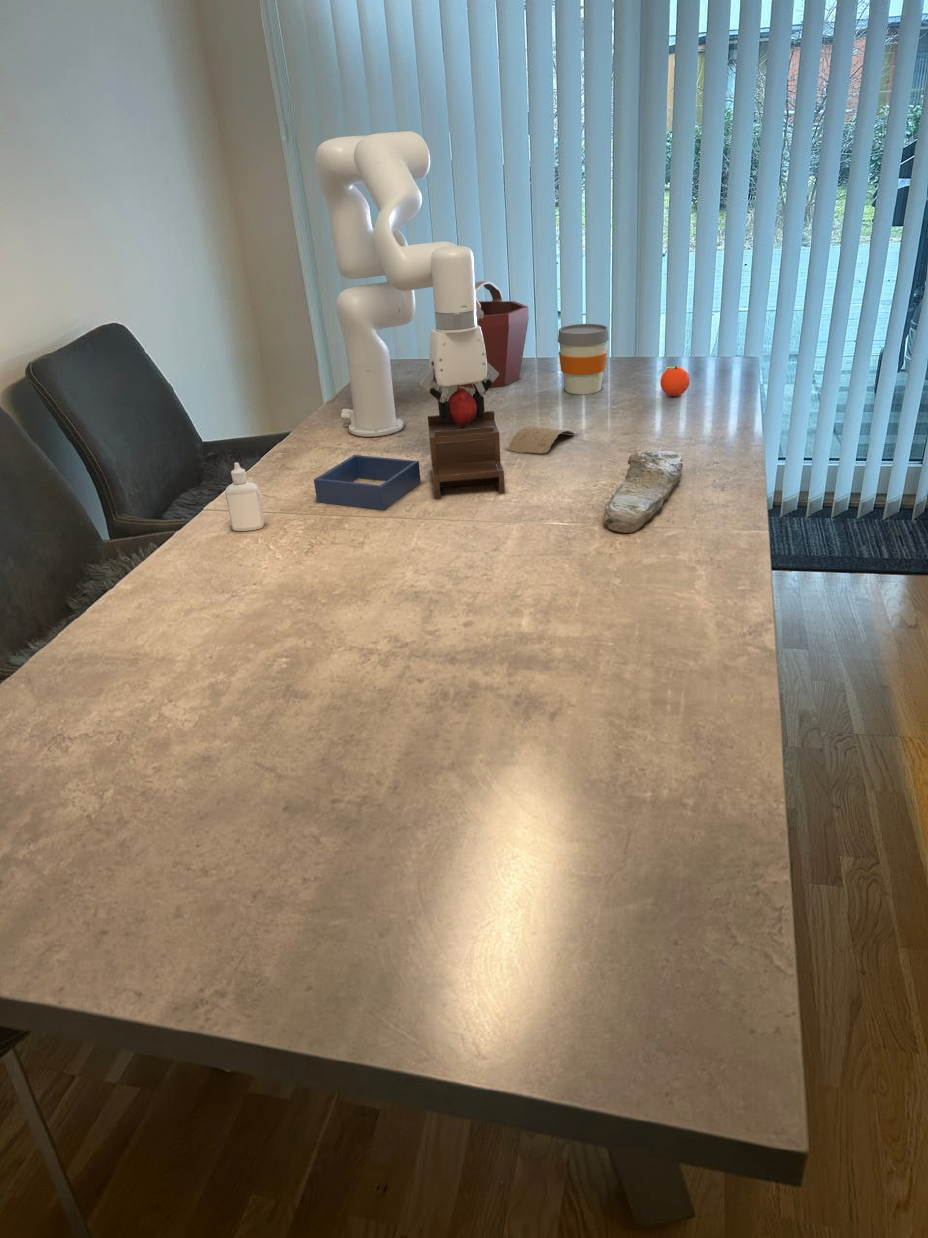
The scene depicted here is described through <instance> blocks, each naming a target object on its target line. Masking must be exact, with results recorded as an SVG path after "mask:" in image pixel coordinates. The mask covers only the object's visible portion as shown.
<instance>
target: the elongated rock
mask: <svg viewBox="0 0 928 1238" xmlns="http://www.w3.org/2000/svg"><path fill="white" fill-rule="evenodd" d="M627 464H628V465H629V468H628V469H627V471H626V475H625V477H624V478H625V479H624V481H623V482H622V483H621V484H620V486H619V487H617V488H616V491H615V492H614V493H613V494H611V497H610V498H609V500H608V501H607V503H605V506H604V513H603V516H602V517H603V518H602V524H605V525H606V526H607V528H608V529H609V530H611V531H614V532H617V533H625V534H627V533H628V534H631V533H634V532H636V531H637V530H639V529H640V528H642V527H643V526H644V524H645V523H647V522H648V521H649V520H650V519H651V518H652V517H653V516H654V515H656V513H657V512H658V511H660V510H661V508H663V505H664V501H666V500H668V499H669V498H670V493H671V492H672V490H673V489H674V488H675V487H676V485H677V484H678V483H679V481H680V478H681V474H682V470H683V467H684V464H683V458H682V457H681V455H680V454H678V453H677V452H674V451H670V450H657V451H653V452H652V451H648V450H646V451H643V452H641V453H640V454H639V453H638V452H635V453H634V454H631V455H629V457H628V460H627Z"/></svg>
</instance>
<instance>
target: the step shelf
mask: <svg viewBox="0 0 928 1238" xmlns="http://www.w3.org/2000/svg"><path fill="white" fill-rule="evenodd" d="M482 413H483V417H482V418H479V417H477V416H475V418H474V419H473V420H472V421H471V422H470V423H468V424H467V425H466V426H465V427H460V426H458V425H457V424H456V423H455V422H454V421H452V420H451V419H450V423H445V422H444V421H443V420H442V419H441V418H440V416H439V414H437V415H436V414H435V415H428V416H427V426H428V427H427V428H428V437H429V448H430V450H429V451H430V462H431V463H430V464H431V474H432V482H433V490H434V491H433V492H434V499H435V500H440V499H441V498H442V497H441V488H447V487H449V488H451V487H460V486H461V487H463V486H472V485H474V486H475V485H483V484H484V485H485V484H496V486H497V490H498V493H499V494H505V492H506V488H505V485H506V484H505V469H504V467H503V464H502V461H501V444H500V443H501V442H500V441H501V440H500V430H499V428H498V424H497V422H496V419H495V417H496V416H495V410H486V411H485V410H484V412H482Z"/></svg>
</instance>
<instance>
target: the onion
mask: <svg viewBox="0 0 928 1238" xmlns="http://www.w3.org/2000/svg"><path fill="white" fill-rule="evenodd" d="M447 402H449V408H450V419H451V420H452V421H454V422H455V423H456V424H457V425H458V426H460V427H465V426H466V425H467V424H468V423H470V422H471V421H472V420H473V419H474V418H475V416H476V413H477V404H476V401H475V399H474V398H473V394H472V393H471V392H469V391H468V390H467V389H465V388H463V386H462V385H458V386H457V387H456V390H455V391H454V392H453V393H452V394H451V395H450V396H449V397H448V398H447Z"/></svg>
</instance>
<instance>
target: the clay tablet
mask: <svg viewBox="0 0 928 1238" xmlns="http://www.w3.org/2000/svg"><path fill="white" fill-rule="evenodd" d="M560 434H562V435H570V436H575V435H576V433H575V432H573V431H571V430H565V429H564V430H563V429H554V428H547V427H539V426H534V425H531V426H524V427H522V428H520V429H518V431H517V432H516V433H515V434H514V435H513V437H512V438H511V440H510V443H509V445H508V447H507V449H508V451H509V452H516V453H518V454H519V453H520V454H523V453H531V454H546V453H548V452H549V451H550V449H551V447H552V444H553V443H554V442H555V440H556V439H557V438H558V436H559V435H560Z"/></svg>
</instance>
